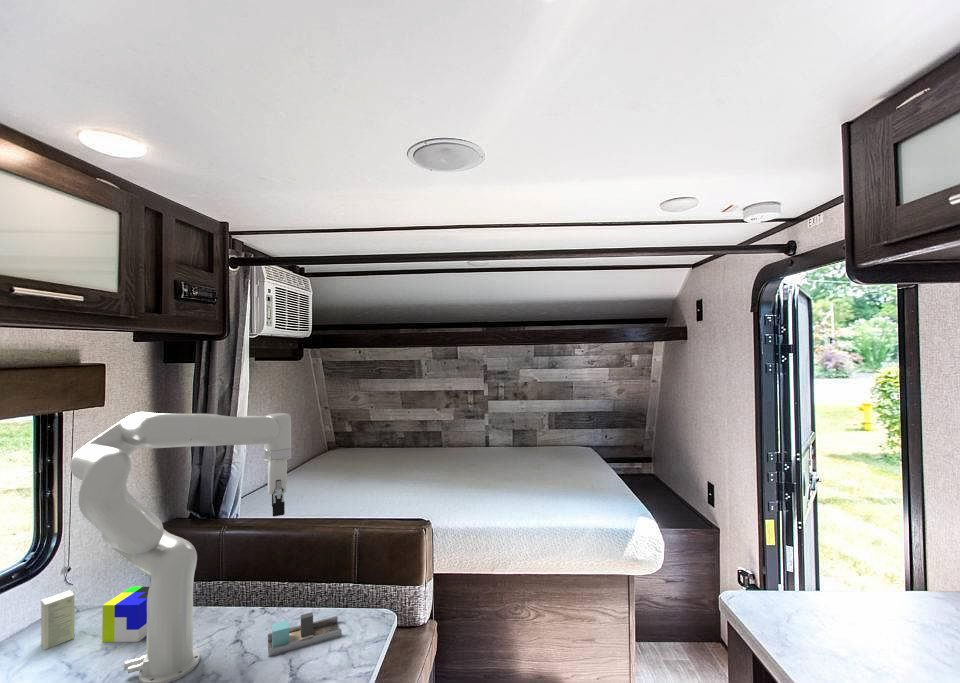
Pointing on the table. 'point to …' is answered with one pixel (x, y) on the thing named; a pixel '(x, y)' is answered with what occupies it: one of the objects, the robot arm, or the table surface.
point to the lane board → (311, 640)
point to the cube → (280, 633)
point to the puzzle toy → (126, 616)
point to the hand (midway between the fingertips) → (278, 510)
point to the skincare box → (57, 619)
